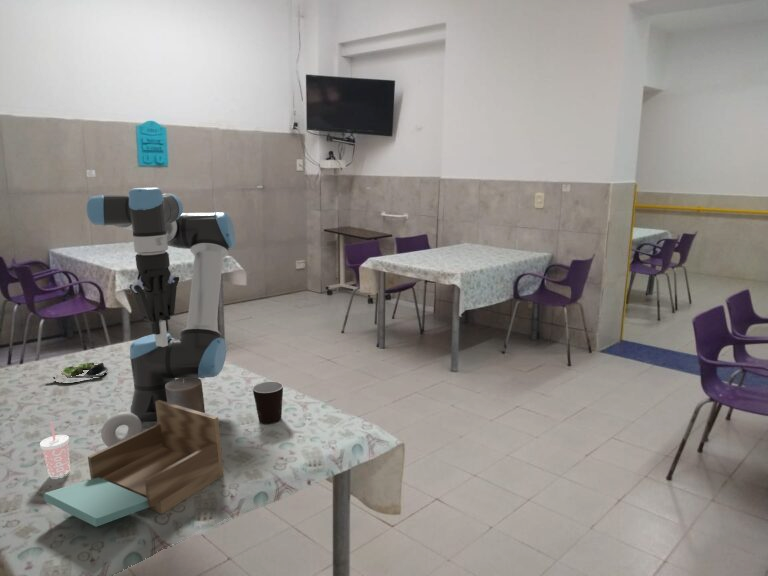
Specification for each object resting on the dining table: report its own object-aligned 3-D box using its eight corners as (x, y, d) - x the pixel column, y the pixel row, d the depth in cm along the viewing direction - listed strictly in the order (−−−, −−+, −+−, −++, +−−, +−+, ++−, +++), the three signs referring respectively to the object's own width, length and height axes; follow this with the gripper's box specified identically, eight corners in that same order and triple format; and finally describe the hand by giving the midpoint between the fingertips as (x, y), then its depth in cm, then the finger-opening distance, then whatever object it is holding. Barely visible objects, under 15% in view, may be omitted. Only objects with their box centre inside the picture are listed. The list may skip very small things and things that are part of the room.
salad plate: (49, 392, 190) (47, 379, 189) (42, 376, 204) (40, 364, 203) (112, 378, 201) (110, 366, 200) (101, 364, 215) (100, 353, 214)
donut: (105, 456, 145) (100, 420, 143) (102, 451, 148) (97, 416, 146) (145, 444, 152) (141, 409, 149) (141, 439, 154) (137, 405, 152)
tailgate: (97, 489, 129) (43, 505, 118) (98, 477, 129) (44, 492, 118) (149, 512, 120) (95, 532, 109) (150, 499, 120) (96, 518, 109)
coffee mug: (278, 427, 160) (276, 393, 158) (250, 424, 162) (247, 391, 159) (293, 409, 171) (291, 378, 169) (266, 407, 173) (264, 376, 171)
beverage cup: (43, 483, 133) (34, 428, 130) (47, 471, 139) (38, 418, 136) (72, 477, 136) (64, 423, 133) (75, 465, 141) (67, 413, 138)
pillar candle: (208, 419, 166) (203, 370, 162) (204, 434, 156) (198, 383, 153) (174, 423, 164) (168, 374, 161) (167, 438, 155) (160, 386, 152)
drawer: (92, 492, 129) (84, 432, 126) (165, 454, 146) (159, 399, 143) (152, 519, 119) (144, 454, 116) (223, 475, 135) (218, 417, 132)
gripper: (138, 257, 130) (149, 355, 135) (184, 249, 141) (192, 340, 146) (117, 255, 134) (129, 350, 139) (164, 247, 145) (173, 336, 150)
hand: (162, 345), depth 143 cm, fingers closed
